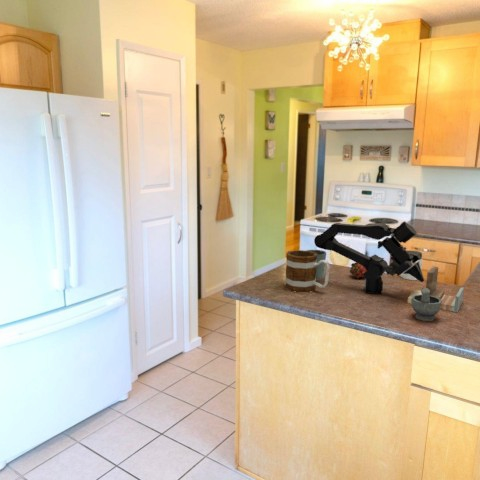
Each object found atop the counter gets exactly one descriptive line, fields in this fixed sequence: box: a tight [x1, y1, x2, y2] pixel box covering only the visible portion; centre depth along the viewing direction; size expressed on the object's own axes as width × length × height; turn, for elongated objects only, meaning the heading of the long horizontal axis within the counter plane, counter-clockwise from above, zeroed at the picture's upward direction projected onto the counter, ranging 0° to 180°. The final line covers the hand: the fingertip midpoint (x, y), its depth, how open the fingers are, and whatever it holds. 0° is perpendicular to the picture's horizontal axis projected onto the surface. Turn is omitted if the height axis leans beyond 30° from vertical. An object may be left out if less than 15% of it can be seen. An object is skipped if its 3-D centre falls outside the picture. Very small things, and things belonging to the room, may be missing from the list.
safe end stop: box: [453, 286, 465, 313], centre depth 161 cm, size 1×13×6 cm, turn 146°
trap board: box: [407, 289, 456, 312], centre depth 167 cm, size 16×12×2 cm
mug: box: [284, 249, 330, 293], centre depth 181 cm, size 20×14×15 cm
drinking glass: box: [305, 249, 327, 280], centre depth 199 cm, size 10×10×12 cm
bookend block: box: [425, 266, 445, 299], centre depth 165 cm, size 5×10×11 cm, turn 146°
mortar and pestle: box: [410, 287, 442, 322], centre depth 150 cm, size 11×9×12 cm
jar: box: [399, 250, 423, 281], centre depth 199 cm, size 9×8×12 cm
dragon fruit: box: [349, 262, 367, 279], centre depth 200 cm, size 8×8×12 cm
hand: (423, 281), depth 168 cm, fingers closed
